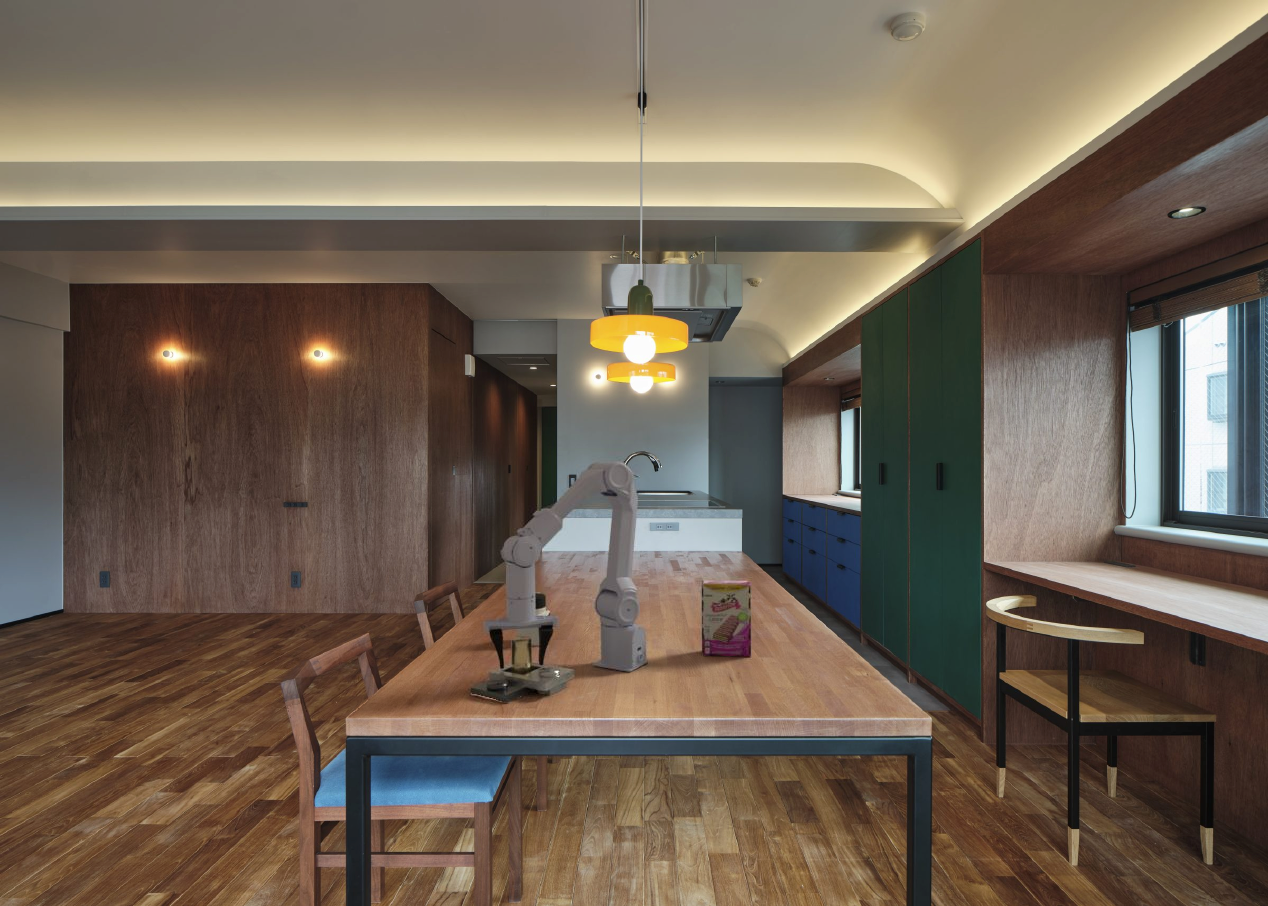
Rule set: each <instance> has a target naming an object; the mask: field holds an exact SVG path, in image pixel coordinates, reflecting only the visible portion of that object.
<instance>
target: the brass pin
mask: <svg viewBox="0 0 1268 906" xmlns="http://www.w3.org/2000/svg"><path fill="white" fill-rule="evenodd" d="M510 642H511V643H510V645H511V646H510V651H511V659H510V660H511V662H510V664H511V670H512V673H515V674H520V675H525V674H527V673H530V672H532V662H533V659H532V658H533V653H532V652H533V649H532V648H533V646H532V638H531V637H528V636H518V637H517V636H515V637H512V638H511V639H510Z"/></svg>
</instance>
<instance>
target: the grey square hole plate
mask: <svg viewBox="0 0 1268 906" xmlns="http://www.w3.org/2000/svg"><path fill="white" fill-rule="evenodd" d="M573 678H575V669H571V668H567V667H561V666H556V665H549V664H544V663H543V665H540V664H539V662H538V663H537V662H533V661H532V672H530V673H527V674H525V675H520V674H515V673H512V670H511V663H509V664H506V665H504V669H500V667H498V668H496V669H493V670H491V671H488V680H507V681H508V684H512V685H517V686H522V687H527V688H532V689H536V691H537V694H540V693H541V695H545V694H546V695H545V696H552V695H554V694H556V693H558V692H560V691H562V690H565V689H566V688H567V681H569V680H572V679H573Z"/></svg>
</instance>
